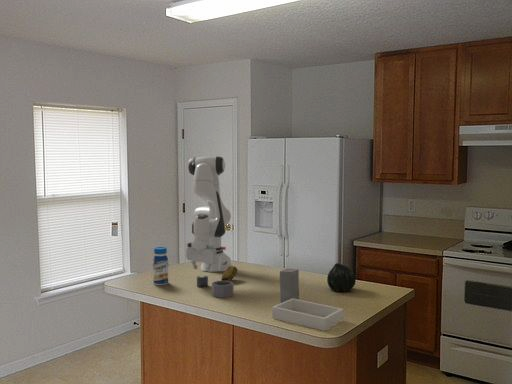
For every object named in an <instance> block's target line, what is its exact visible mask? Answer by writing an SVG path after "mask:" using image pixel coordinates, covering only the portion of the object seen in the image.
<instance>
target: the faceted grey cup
mask: <svg viewBox="0 0 512 384" xmlns="http://www.w3.org/2000/svg"><path fill="white" fill-rule="evenodd" d="M234 294H235V293H234V281H232V280H231V281H223V280H216V281H212V283H211V296H212V297H213V298H219V299H226V298H227V299H228V298H231V297H234Z"/></svg>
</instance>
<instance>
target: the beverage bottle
mask: <svg viewBox="0 0 512 384" xmlns="http://www.w3.org/2000/svg"><path fill="white" fill-rule="evenodd" d="M153 249H154V250H153V252H154V253H153V254H154V257H153V259H152V261H153V263H152V267H153V284H154V286H155V285H156V286H164V285H168V284H169V262H168V261H169V257H168V256H167V252H168V251H167V250H168V249H167V247H165V246H156V247H154V248H153Z"/></svg>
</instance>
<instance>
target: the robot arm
mask: <svg viewBox="0 0 512 384" xmlns="http://www.w3.org/2000/svg"><path fill="white" fill-rule="evenodd" d="M187 169H188V172H189V174H191V176H192V175H193V191H194V194H196V196H197V197H199V198H200V199H202V200H204V201H205V202H206V203H207V206H206V205H205V206H204V205H203V206H199V207H197V208H195V209H194V212H193V222H192V223H191V233H192V234H193V238H192V239H193V241H190V242H187V243H186V247H187V248H186V251H185V252H186V253H185V255H186V256H185V258H186V260H187V261H191V264H192V268H193V270H198V265H197V262H198V263H201V265H200V270H201V271H202V272H208V273H212V272H215V273H216V272H225V270H226V269H227V268H228V267H230V266H234V267H235V264H233V263H232V260H231V257H230V256H228V255H227V253H225V252H224V251H225V250H226V249H227V247H226V246H223V245H222V237H223V236H224V235H225V234H226V231H227V230H226V229H227V227H226V226H227V225H228V224H229V223H230V222H231V219H232V214H231V212H230V210H229V209H227V207H226V206H225V204H224V202H223V200H222V197H221V190H220V180H219V179H220V178H219V176H220V175H222V174H223V173H224V172H225V170H226V161H225V159H224V157H222V156H219V155H218V156H217V155H216V156H213V155H212V156H211V155H210V156H209V155H206V156H201V157H192V158H190V159H189V160H188V163H187Z"/></svg>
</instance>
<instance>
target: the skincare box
mask: <svg viewBox="0 0 512 384" xmlns="http://www.w3.org/2000/svg"><path fill="white" fill-rule="evenodd" d="M299 271H300V270H299V269H296V268H285V269H282V270H280V271H279V290H280V292H279V294H280V298H279V299H280V303H283V302H285V301H287V300H290V299H292V298H293V299H298V300H300V284H299V283H300V282H299V281H300V279H299Z"/></svg>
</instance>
